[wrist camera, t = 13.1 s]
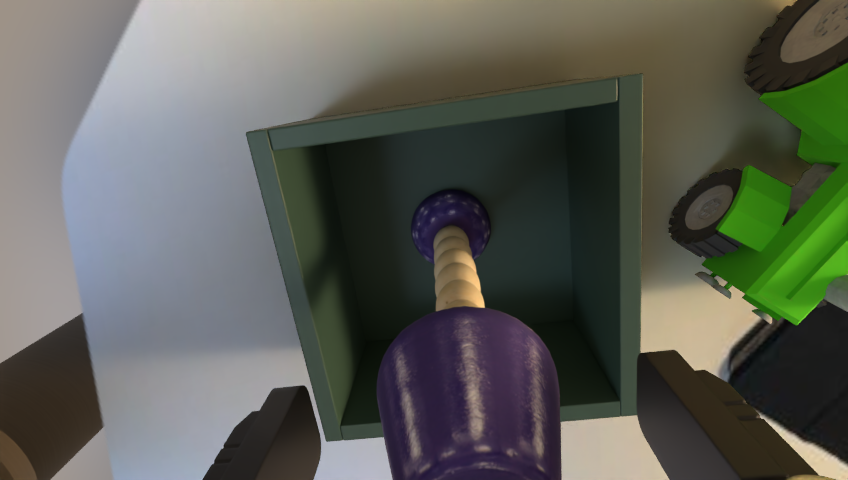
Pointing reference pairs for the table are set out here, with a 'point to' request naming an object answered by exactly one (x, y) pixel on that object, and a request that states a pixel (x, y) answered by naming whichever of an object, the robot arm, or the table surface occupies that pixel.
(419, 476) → the toy lamp
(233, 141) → the table surface
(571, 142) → the bin
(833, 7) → the toy tractor
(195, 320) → the table surface
